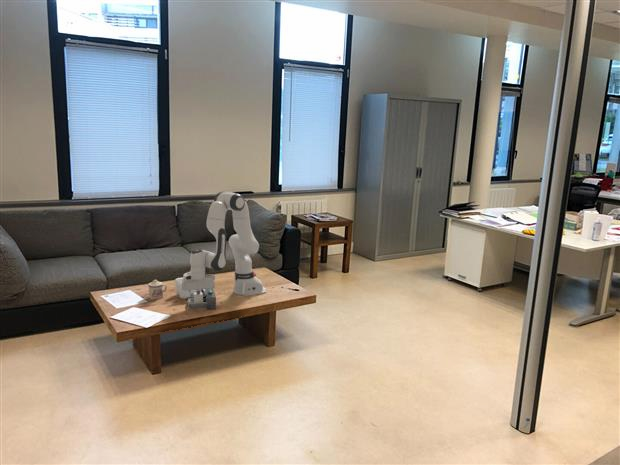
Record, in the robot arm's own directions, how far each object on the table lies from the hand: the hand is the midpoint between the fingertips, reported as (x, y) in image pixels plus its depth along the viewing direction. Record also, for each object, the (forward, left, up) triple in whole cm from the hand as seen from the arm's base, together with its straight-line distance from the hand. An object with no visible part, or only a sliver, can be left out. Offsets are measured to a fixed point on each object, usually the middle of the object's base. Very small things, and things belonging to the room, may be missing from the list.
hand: (198, 295), depth 305 cm
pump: (0, 0, -6) cm, 6 cm away
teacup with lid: (+24, -22, -7) cm, 33 cm away
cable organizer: (+5, -20, -7) cm, 22 cm away
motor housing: (-2, 0, -7) cm, 7 cm away
